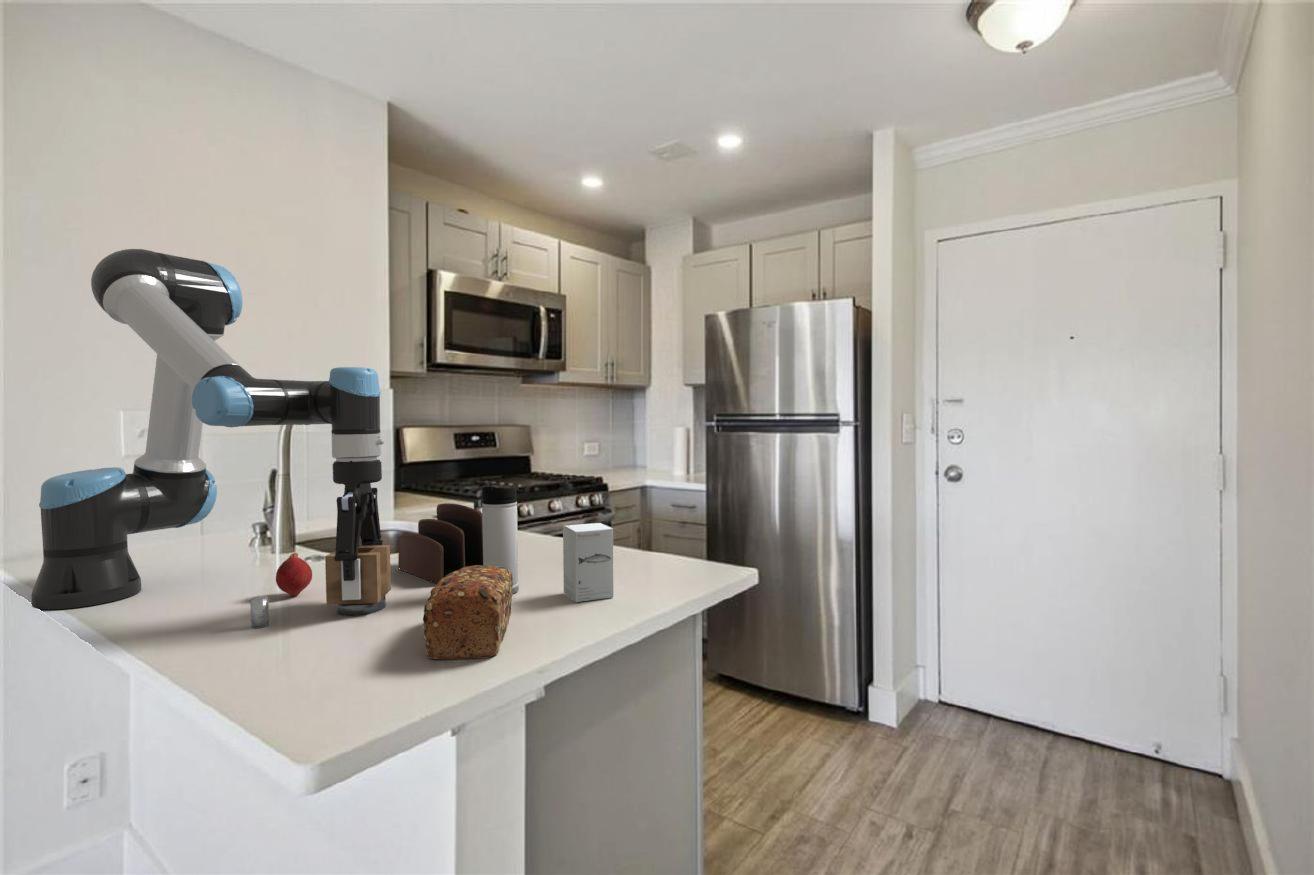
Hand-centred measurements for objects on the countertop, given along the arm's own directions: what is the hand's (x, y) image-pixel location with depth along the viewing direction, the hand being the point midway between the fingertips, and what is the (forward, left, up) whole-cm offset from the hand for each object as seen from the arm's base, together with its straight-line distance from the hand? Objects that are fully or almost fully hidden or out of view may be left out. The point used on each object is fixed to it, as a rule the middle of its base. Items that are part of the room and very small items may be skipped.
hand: (361, 591), depth 110 cm
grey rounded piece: (-7, -13, -3) cm, 15 cm away
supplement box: (+31, +23, -3) cm, 39 cm away
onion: (-18, 0, -3) cm, 18 cm away
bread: (+27, -2, -3) cm, 27 cm away
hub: (0, 0, -3) cm, 3 cm away
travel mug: (+15, +18, -3) cm, 24 cm away
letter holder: (-6, +24, -3) cm, 25 cm away
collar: (0, 0, -1) cm, 1 cm away
